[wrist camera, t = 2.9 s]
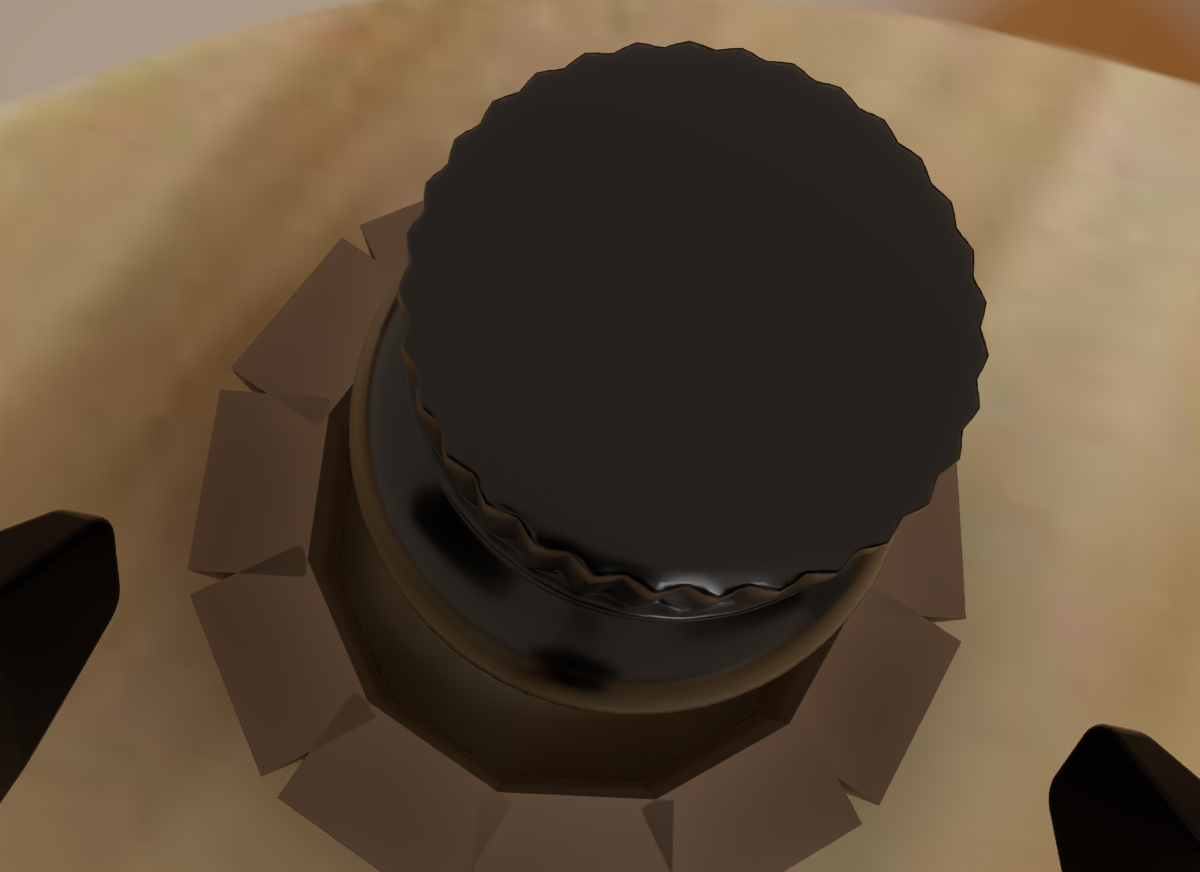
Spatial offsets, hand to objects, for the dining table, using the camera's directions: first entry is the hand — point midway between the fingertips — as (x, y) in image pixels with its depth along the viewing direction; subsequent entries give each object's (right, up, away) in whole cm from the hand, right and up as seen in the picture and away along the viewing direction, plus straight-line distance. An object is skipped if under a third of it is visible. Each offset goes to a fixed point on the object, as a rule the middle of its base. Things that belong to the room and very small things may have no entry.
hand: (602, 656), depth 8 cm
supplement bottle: (0, 0, +11) cm, 11 cm away
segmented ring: (0, 0, +10) cm, 10 cm away
